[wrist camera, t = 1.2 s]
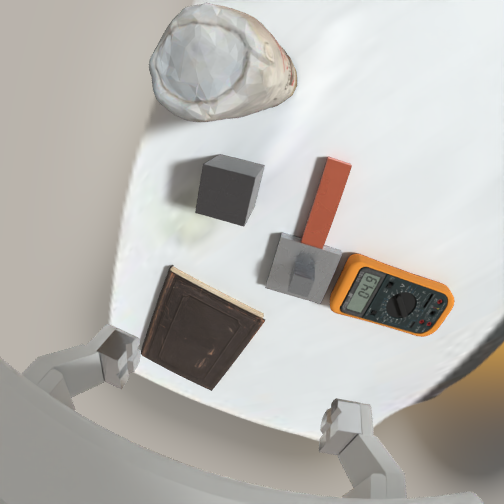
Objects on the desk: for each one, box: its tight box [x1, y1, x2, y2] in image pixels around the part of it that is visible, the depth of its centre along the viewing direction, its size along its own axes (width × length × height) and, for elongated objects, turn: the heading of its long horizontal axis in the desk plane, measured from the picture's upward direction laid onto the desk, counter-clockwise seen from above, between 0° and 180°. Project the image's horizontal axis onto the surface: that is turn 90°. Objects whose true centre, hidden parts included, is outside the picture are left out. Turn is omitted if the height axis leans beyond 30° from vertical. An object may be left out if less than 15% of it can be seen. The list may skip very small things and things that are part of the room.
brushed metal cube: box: [195, 154, 265, 226], centre depth 34 cm, size 6×6×6 cm
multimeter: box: [330, 254, 454, 337], centre depth 38 cm, size 9×18×3 cm, turn 76°
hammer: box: [265, 157, 352, 304], centre depth 36 cm, size 19×8×5 cm, turn 167°
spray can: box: [149, 3, 297, 122], centre depth 21 cm, size 8×8×20 cm
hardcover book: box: [141, 265, 265, 391], centre depth 50 cm, size 16×23×2 cm
